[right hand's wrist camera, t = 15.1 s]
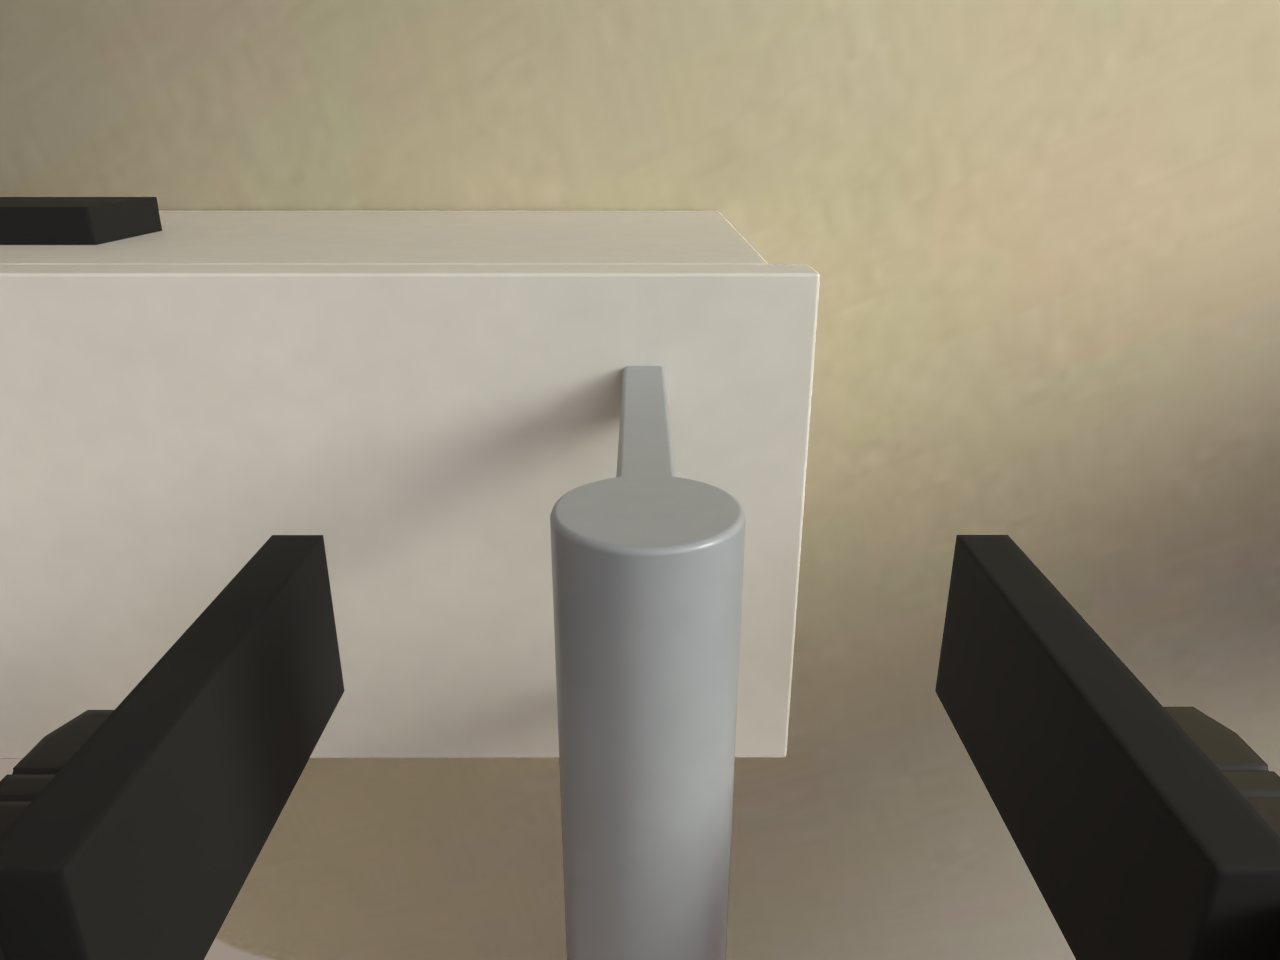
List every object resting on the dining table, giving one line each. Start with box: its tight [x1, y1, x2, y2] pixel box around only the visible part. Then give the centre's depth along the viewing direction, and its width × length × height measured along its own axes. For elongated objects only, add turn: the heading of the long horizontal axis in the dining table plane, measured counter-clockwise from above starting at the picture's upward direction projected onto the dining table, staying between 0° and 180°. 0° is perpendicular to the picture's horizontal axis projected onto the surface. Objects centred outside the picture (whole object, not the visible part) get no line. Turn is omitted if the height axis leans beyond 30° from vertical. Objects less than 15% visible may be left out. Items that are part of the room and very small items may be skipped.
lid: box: [0, 264, 820, 960], centre depth 13 cm, size 17×10×8 cm, turn 90°
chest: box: [0, 210, 768, 264], centre depth 22 cm, size 16×10×11 cm, turn 90°
